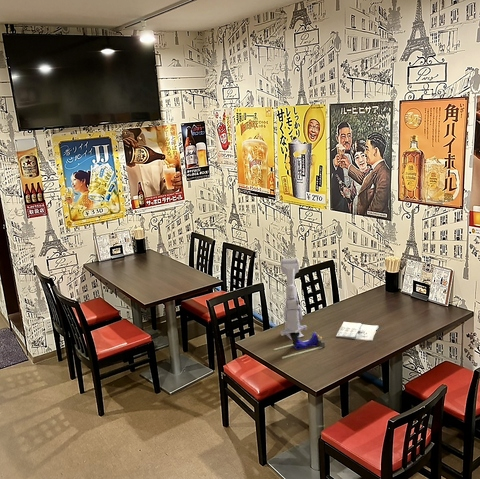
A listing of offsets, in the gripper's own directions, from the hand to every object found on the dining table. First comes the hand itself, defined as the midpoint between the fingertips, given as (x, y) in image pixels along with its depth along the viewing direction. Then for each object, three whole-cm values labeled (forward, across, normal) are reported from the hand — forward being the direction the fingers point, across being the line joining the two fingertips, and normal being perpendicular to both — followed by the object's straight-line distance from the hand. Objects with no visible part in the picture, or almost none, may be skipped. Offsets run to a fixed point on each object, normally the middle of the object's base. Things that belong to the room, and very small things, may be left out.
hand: (294, 344), depth 259 cm
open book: (+4, +39, +1) cm, 39 cm away
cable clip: (+3, +7, +1) cm, 8 cm away
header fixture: (+3, +2, 0) cm, 4 cm away
